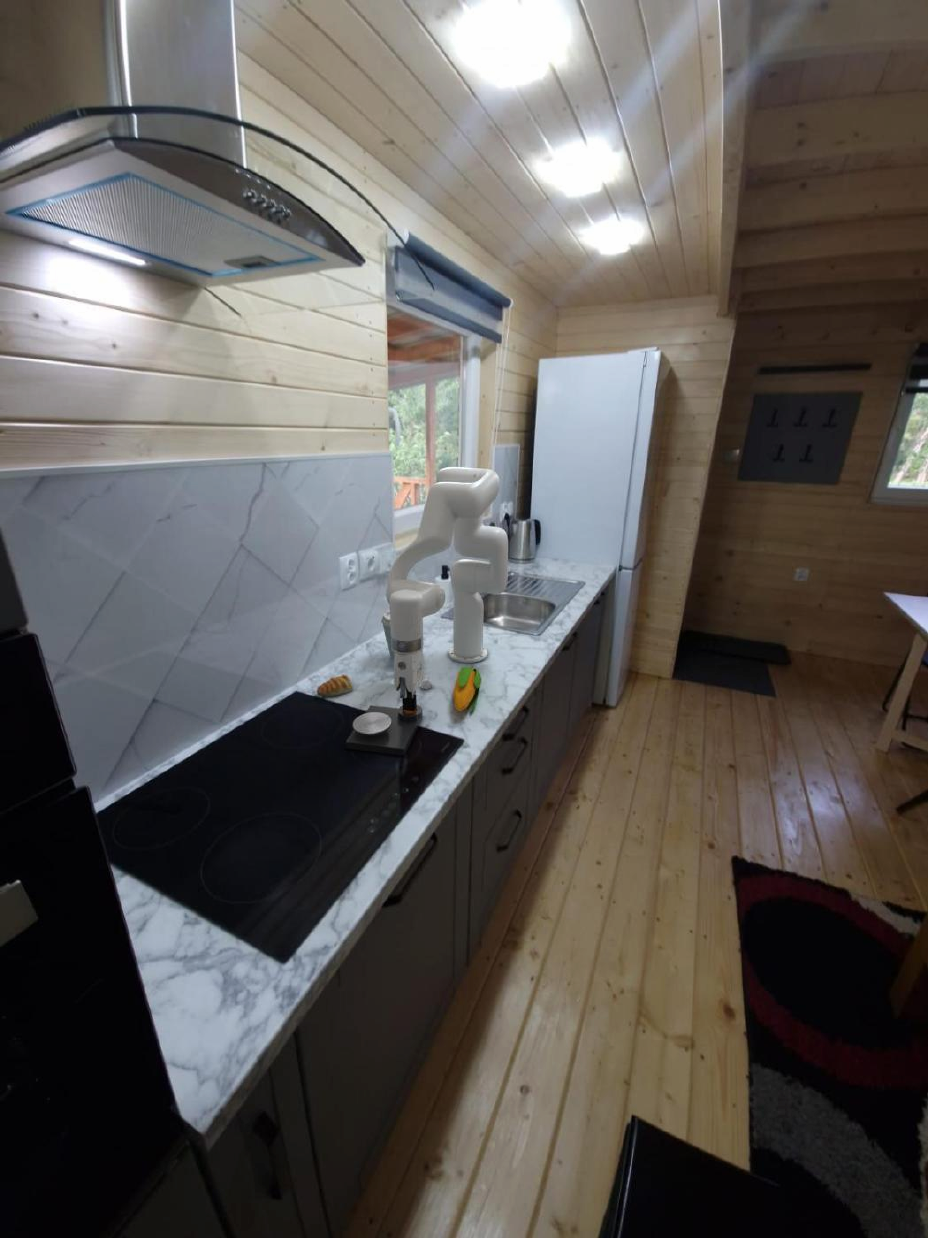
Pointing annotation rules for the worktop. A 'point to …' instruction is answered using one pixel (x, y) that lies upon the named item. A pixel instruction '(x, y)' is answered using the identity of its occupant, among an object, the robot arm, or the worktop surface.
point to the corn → (466, 688)
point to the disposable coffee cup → (388, 631)
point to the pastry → (335, 686)
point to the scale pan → (372, 723)
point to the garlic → (426, 684)
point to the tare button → (409, 711)
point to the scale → (389, 732)
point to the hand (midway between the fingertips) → (409, 708)
